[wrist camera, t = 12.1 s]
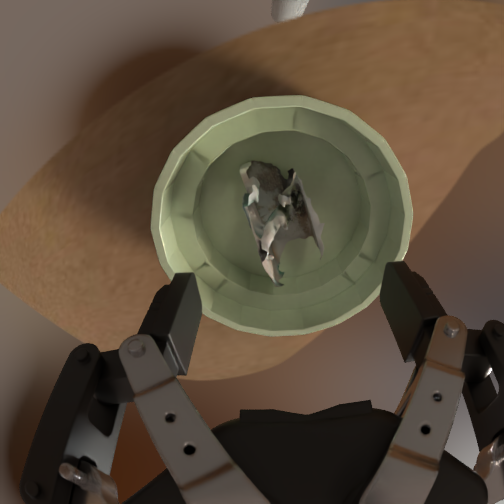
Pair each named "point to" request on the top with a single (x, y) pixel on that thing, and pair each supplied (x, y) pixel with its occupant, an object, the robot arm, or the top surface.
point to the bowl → (295, 251)
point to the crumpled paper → (277, 213)
